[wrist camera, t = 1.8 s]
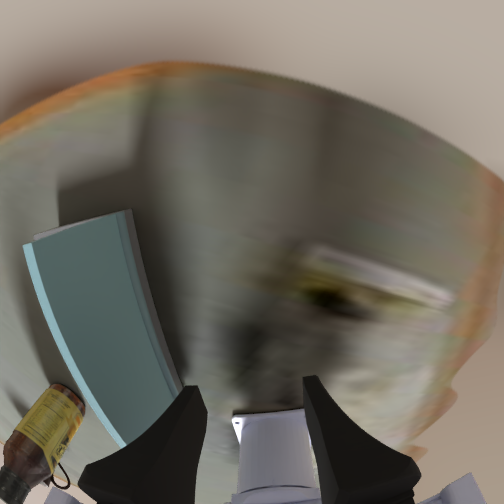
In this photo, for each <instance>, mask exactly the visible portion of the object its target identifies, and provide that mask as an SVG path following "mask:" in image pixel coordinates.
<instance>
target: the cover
mask: <svg viewBox="0 0 504 504" xmlns="http://www.w3.org/2000/svg"><path fill="white" fill-rule="evenodd" d="M23 249H24V253H25V257H26V261H27V265H28V268H29V272H30V275H31V278H32V282H33V285H34V288H35V291H36V294H37V297H38V300H39V302H40V305H41V308H42V310H43V313H44V316H45V318H46V321H47V323H48V326H49V328H50V330H51V333H52V335H53V337H54V339H55V342H56V344H57V346H58V348H59V350H60V352H61V354H62V356H63V358H64V360H65V362H66V364H67V366H68V368H69V370H70V372H71V374H72V375H73V377H74V379H75V381H76V383H77V384H78V386H79V388H80V389H81V391H82V393H83V395H84V396H85V398H86V399H87V401H88V403H89V404H90V406H91V407H92V409H93V410H94V412H95V413H96V415H97V416H98V418H99V419H100V421H101V422H102V424H103V425H104V426H105V428H106V429H107V430H108V432H109V433H110V435H111V436H112V437H113V439H114V440H115V441H116V442H117V444H118V445H119V446H120V447H121V449H122V448H123V447H125V446H126V445H128V444H129V443H131V442H132V441H134V440H135V439H136V438H138V437H139V436H140V435H141V434H143V433H144V432H145V431H146V430H147V429H148V428H149V427H150V426H151V425H152V424H153V423H154V422H155V421H156V420H157V419H158V418H159V417H160V416H161V415H162V414H163V413H164V411H165V410H166V409H167V408H168V407H169V406H170V404H171V403H172V402H173V401H174V400H175V398H176V397H177V396H178V394H179V393H178V391H177V388H176V386H175V384H174V381H173V379H172V376H171V374H170V371H169V369H168V366H167V363H166V361H165V358H164V355H163V353H162V350H161V347H160V344H159V341H158V338H157V336H156V333H155V330H154V327H153V323H152V320H151V317H150V314H149V311H148V308H147V304H146V301H145V297H144V294H143V290H142V287H141V283H140V280H139V276H138V272H137V268H136V264H135V260H134V256H133V252H132V247H131V243H130V238H129V234H128V229H127V224H126V219H125V214H124V211H123V212H118V213H114V214H111V215H107V216H104V217H101V218H98V219H95V220H92V221H88V222H85V223H82V224H79V225H76V226H74V227H71V228H68V229H65V230H62V231H59V232H56V233H54V234H51V235H48V236H46V237H43V238H40V239H38V240H35V241H32V242H30V243H27V244H25V245H23Z"/></svg>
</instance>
